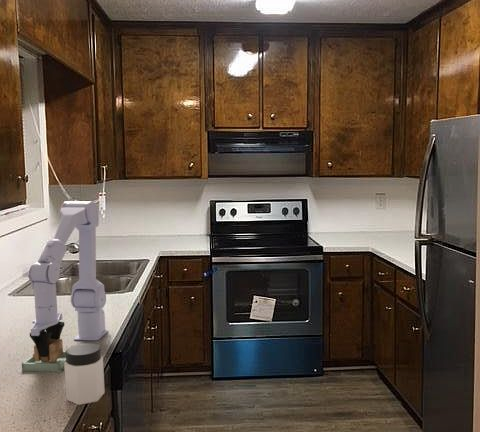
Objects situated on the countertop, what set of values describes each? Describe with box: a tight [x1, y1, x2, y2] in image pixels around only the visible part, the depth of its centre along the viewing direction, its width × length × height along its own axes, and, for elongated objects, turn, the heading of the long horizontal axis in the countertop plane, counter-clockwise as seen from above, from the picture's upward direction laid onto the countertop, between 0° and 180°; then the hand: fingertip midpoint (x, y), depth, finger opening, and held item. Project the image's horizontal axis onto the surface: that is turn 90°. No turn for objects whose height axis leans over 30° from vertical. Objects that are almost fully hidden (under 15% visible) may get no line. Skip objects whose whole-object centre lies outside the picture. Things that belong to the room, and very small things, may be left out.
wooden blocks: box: [32, 338, 64, 362], centre depth 151 cm, size 6×7×4 cm
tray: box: [21, 350, 66, 373], centre depth 151 cm, size 10×11×2 cm
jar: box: [64, 342, 105, 406], centre depth 130 cm, size 9×8×12 cm
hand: (49, 352), depth 151 cm, fingers closed on wooden blocks, 5 cm apart
